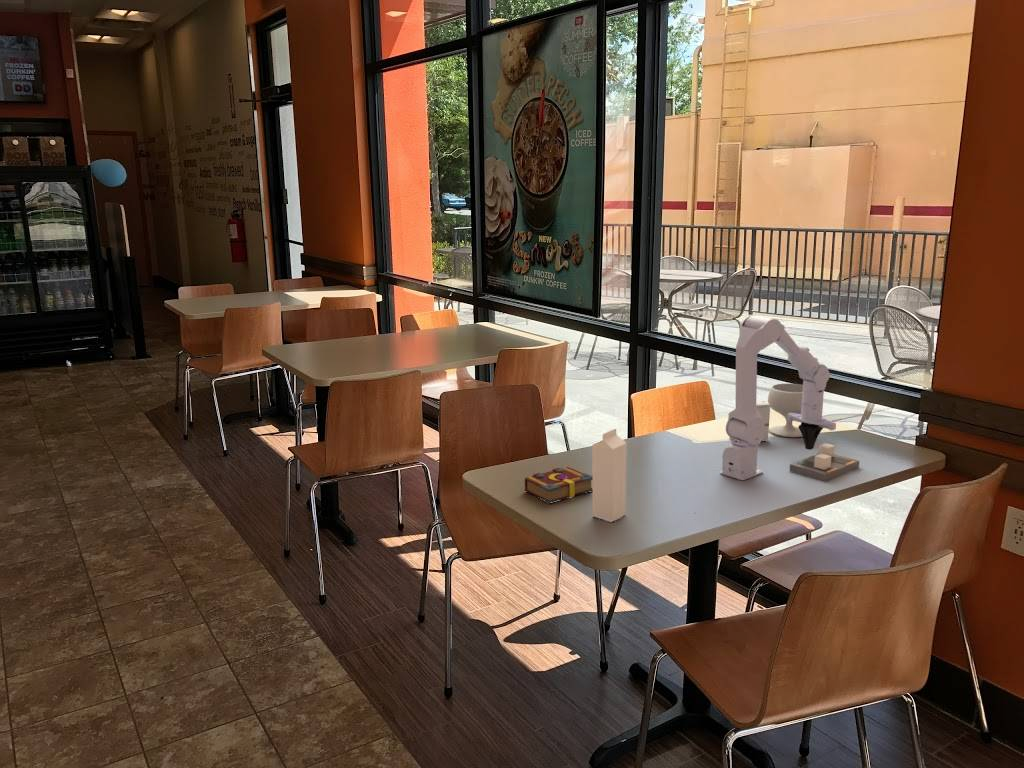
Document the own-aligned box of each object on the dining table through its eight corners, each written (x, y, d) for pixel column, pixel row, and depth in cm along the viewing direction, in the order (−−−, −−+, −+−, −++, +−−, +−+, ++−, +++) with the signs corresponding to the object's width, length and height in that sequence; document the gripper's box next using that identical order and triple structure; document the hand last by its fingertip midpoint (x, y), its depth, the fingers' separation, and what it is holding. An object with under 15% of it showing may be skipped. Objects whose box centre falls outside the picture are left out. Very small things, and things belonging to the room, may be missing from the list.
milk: (625, 515, 205) (627, 430, 200) (612, 523, 200) (613, 436, 195) (605, 510, 209) (606, 426, 203) (591, 517, 204) (592, 431, 199)
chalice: (757, 432, 269) (759, 388, 265) (780, 424, 277) (783, 380, 274) (797, 442, 258) (799, 395, 255) (819, 432, 267) (822, 387, 264)
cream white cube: (823, 469, 227) (824, 458, 226) (814, 467, 229) (814, 456, 228) (830, 467, 229) (831, 456, 228) (820, 464, 231) (821, 453, 230)
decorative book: (523, 493, 222) (523, 475, 221) (570, 480, 231) (570, 463, 230) (549, 505, 213) (549, 487, 212) (597, 491, 222) (597, 474, 221)
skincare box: (750, 442, 259) (752, 405, 256) (744, 438, 263) (746, 401, 260) (769, 441, 259) (771, 404, 257) (763, 437, 264) (764, 400, 261)
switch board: (824, 481, 224) (825, 473, 224) (789, 471, 233) (789, 463, 233) (858, 467, 235) (859, 460, 234) (823, 458, 243) (824, 451, 243)
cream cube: (827, 458, 236) (828, 448, 235) (818, 456, 238) (818, 445, 237) (833, 456, 238) (834, 445, 237) (824, 453, 240) (825, 443, 239)
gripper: (843, 405, 235) (839, 451, 239) (798, 396, 247) (795, 440, 250) (829, 410, 231) (825, 456, 234) (784, 400, 242) (781, 444, 246)
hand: (809, 448), depth 242 cm, fingers closed
